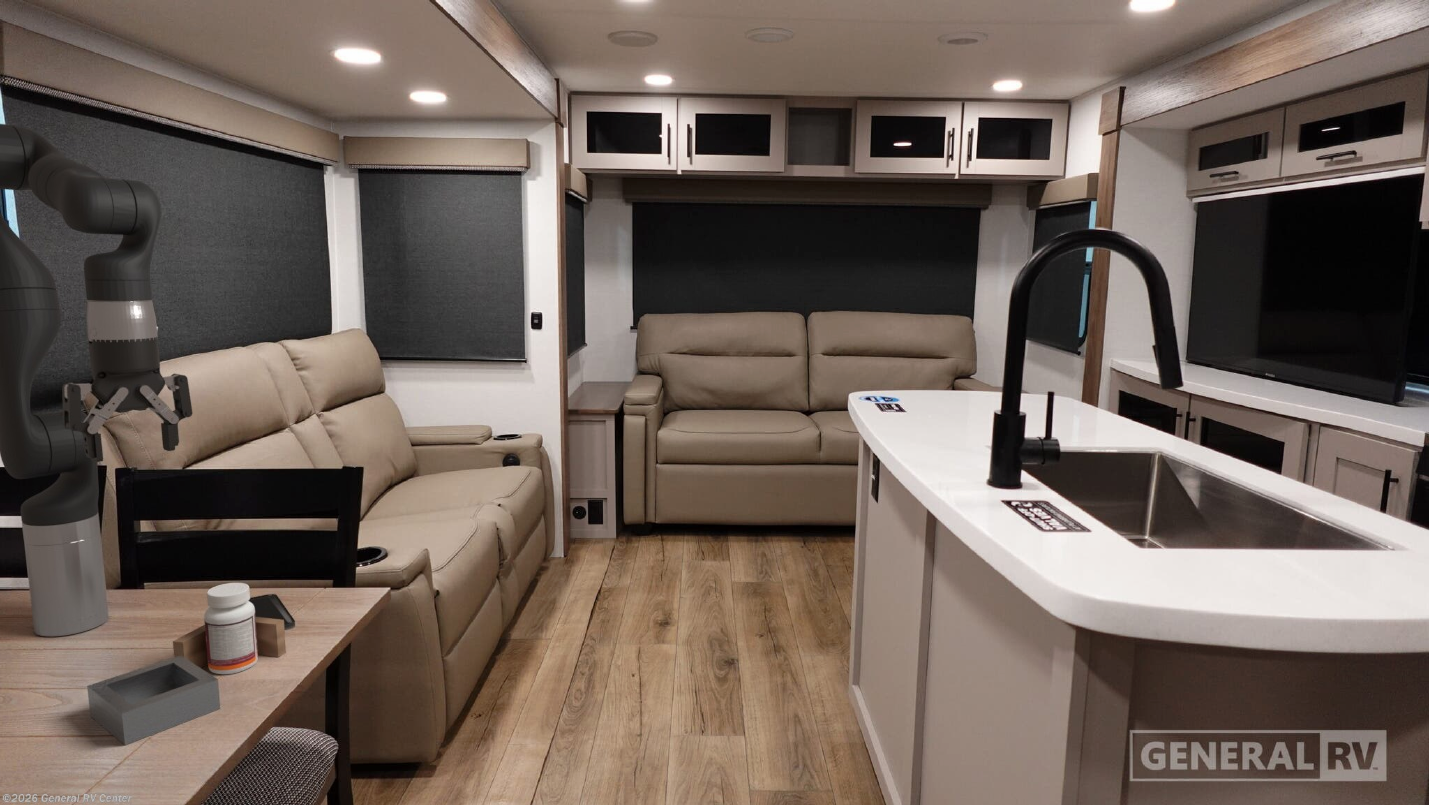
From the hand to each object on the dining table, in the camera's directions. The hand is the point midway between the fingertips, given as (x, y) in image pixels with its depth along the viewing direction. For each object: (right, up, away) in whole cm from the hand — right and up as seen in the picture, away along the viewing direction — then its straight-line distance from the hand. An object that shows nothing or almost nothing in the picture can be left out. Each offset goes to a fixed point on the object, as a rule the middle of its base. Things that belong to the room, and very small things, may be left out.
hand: (134, 455), depth 114 cm
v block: (+8, -29, +8) cm, 32 cm away
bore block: (+8, -32, -7) cm, 34 cm away
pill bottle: (+10, -30, +5) cm, 32 cm away
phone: (+5, -28, +21) cm, 35 cm away
